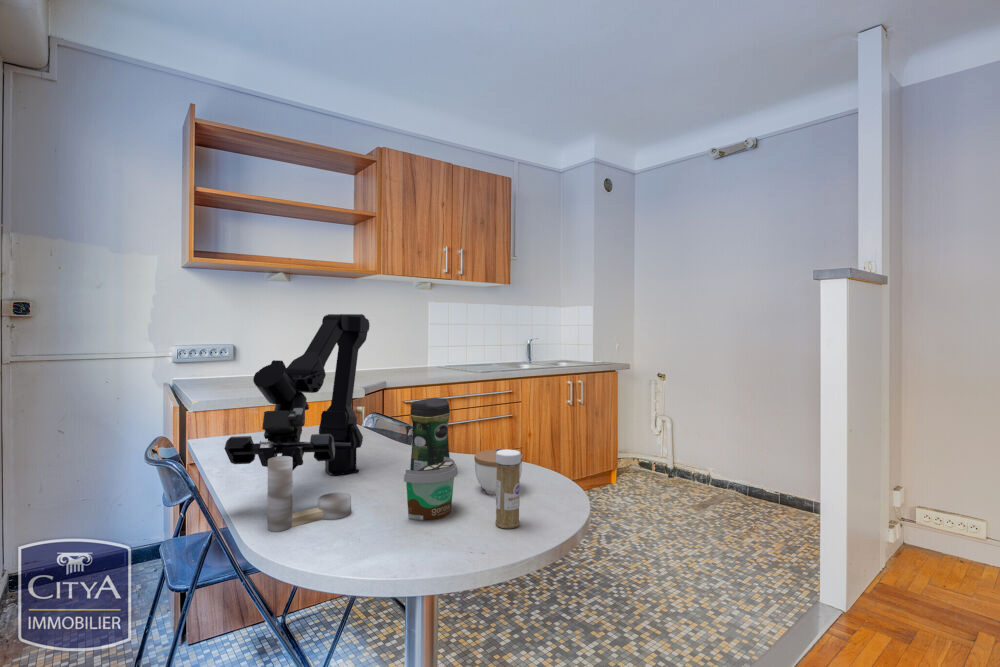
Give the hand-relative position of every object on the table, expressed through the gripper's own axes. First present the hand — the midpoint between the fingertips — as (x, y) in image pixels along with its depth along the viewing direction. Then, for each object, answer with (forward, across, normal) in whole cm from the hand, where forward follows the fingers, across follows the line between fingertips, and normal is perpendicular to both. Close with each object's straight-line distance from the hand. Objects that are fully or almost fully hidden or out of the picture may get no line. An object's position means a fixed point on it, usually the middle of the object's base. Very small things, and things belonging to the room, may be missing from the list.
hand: (274, 490), depth 91 cm
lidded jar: (-5, +43, +15) cm, 46 cm away
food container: (+5, +29, +5) cm, 30 cm away
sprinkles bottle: (+9, +42, +1) cm, 42 cm away
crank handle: (+4, +6, +5) cm, 9 cm away
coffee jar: (-15, +29, +25) cm, 41 cm away
